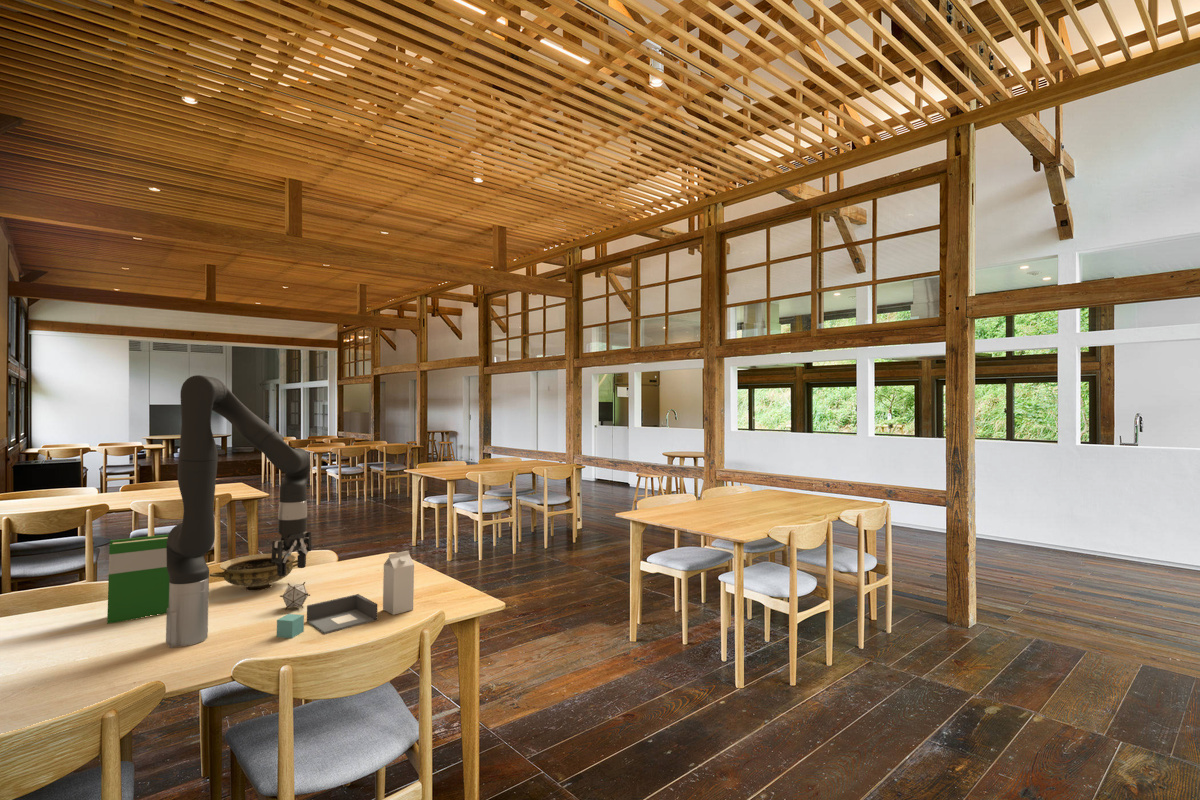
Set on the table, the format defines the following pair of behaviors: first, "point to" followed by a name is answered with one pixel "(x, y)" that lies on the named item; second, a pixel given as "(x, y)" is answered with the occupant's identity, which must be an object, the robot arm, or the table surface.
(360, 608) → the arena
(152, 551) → the hardback book
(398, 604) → the milk carton
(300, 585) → the game die
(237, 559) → the ceramic bowl
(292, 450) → the robot arm
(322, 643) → the table surface
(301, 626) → the cube
